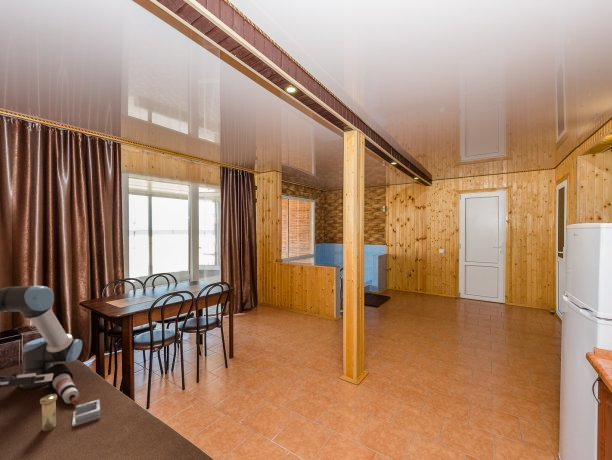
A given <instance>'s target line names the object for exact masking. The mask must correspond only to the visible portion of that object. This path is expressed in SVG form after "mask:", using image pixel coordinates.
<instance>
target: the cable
mask: <svg viewBox="0 0 612 460" xmlns="http://www.w3.org/2000/svg"><path fill="white" fill-rule="evenodd" d="M52 365H53V364H52ZM45 374H53V378H52V381H46V382H47V384H46V385H48V387H49V389H51V390H52V391H54V392H55V391H56V393H57V394H58V395H59V397H61V399H62V400H63V401H64V403H66V404H72V405H76V404H78V401H79V400H78V398H79V397H80V392H79V391H78V389H77V387H76V385H75V382H74V381H73V378H74V375H73V373H72V371H71V370H70V369H69V367H68V366H67V365H66V364H64V363H56V364H54V365H53V366H52V367H50V368H49V369H48V370H47V371H46V373H45ZM57 394H56V395H57Z"/></svg>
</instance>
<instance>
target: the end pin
mask: <svg viewBox="0 0 612 460" xmlns="http://www.w3.org/2000/svg"><path fill="white" fill-rule="evenodd" d="M57 400H58V395H57V394H56V393H54V394H53V393H50V394H48V395H45V396H42V397H41V398H40V399H39V404H40V405H41V421H42V422H41V423H42V431H43V432H48V431H50V430H53V429H54V428H56V426H57V407H56V406H57V405H56V403H57V402H56V401H57Z"/></svg>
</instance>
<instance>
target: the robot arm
mask: <svg viewBox="0 0 612 460" xmlns="http://www.w3.org/2000/svg"><path fill="white" fill-rule="evenodd" d="M54 297H55V293H54V291H53V290H52V289H51V288H50V287H48V286H45V285H29V286H28V285H26V286H25V285H24V286H6V287H3V288H0V314H1V313H6V312H19V313H20V314H21V315H22V317H23V318H24V319H28V320H29V319H30V321H31V322H32V324H33V325H34V327H35V328H36V330H37V331H38V332H39V334H40V335H41V336H42V337H41V338H40V337H39V338H36V339H34V340H31V341H28V342H27V343H25V344H24V345H23V350H22V355H23V356H22V359H23V373H22V374H17V373H12V375H7V376H6V375H5V376H0V389H2V388H9V387H11V386H13V387H14V386H19V388H21V389H33V388H38V387H42V386H44V385H45V386H46V385H48V384H47V382H46V381H52V378H53V374H45V373H46V371H47V370H48V369H49V368H50V367H52V366H53V363H54V364H55V363H56V364H57V363H71V362H74V361H76V360H77V359H78V358H79V356H80V355H81V352H82V349H83V348H82V347H83V341H82V340H81V339H78V338H76V339H74V338H73V335H72V334H70V333H66V331H65V329H64V328H63V326H62V325H61V323H60V321H59V319H58V318H57V316H56V314H55V313H54V311H53V310H52V307H53V305H54V302H55V298H54Z"/></svg>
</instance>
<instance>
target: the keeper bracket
mask: <svg viewBox="0 0 612 460" xmlns="http://www.w3.org/2000/svg"><path fill="white" fill-rule="evenodd" d="M100 418H101V402H100V399H95V400H91V401H89V402H84V403H81V404H77V405H76V406H75V410H74V411H73V414H72V423H71V424H72V425H71V426H72V427H76V426H80V425H83V424H86V423H89V422H93V421H95V420H98V419H100Z"/></svg>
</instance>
